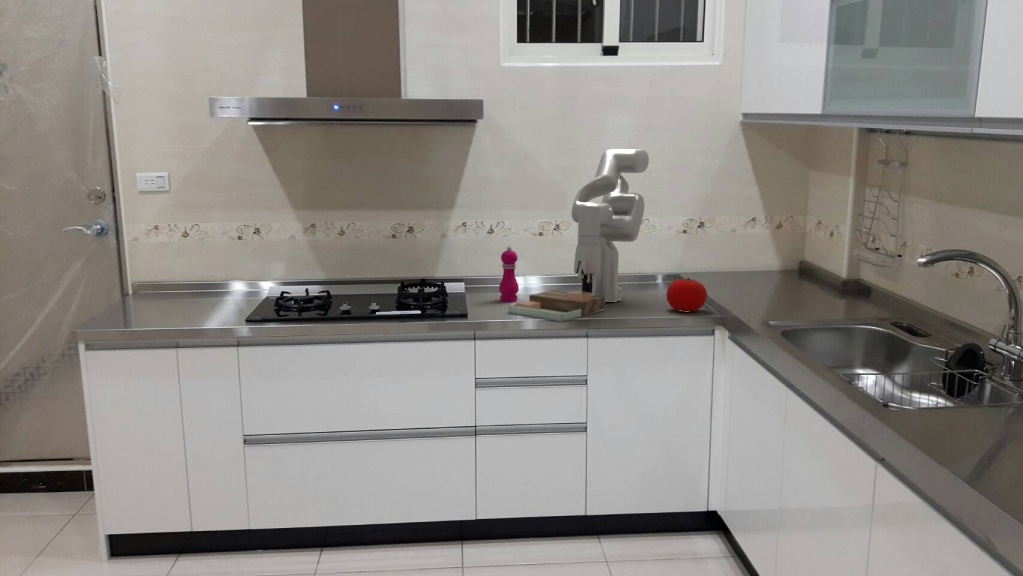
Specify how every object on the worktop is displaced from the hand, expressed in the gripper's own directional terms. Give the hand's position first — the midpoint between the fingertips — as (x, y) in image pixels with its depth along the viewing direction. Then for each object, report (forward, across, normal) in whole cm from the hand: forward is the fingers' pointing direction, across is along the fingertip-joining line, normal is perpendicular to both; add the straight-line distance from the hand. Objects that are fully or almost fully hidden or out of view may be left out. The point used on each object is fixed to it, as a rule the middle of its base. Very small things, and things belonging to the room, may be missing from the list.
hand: (587, 293), depth 274 cm
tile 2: (+2, +5, 0) cm, 5 cm away
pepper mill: (+6, +3, -32) cm, 33 cm away
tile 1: (+3, +14, -14) cm, 21 cm away
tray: (+6, +15, -7) cm, 18 cm away
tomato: (+6, -23, +26) cm, 35 cm away
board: (+6, +2, -7) cm, 10 cm away
